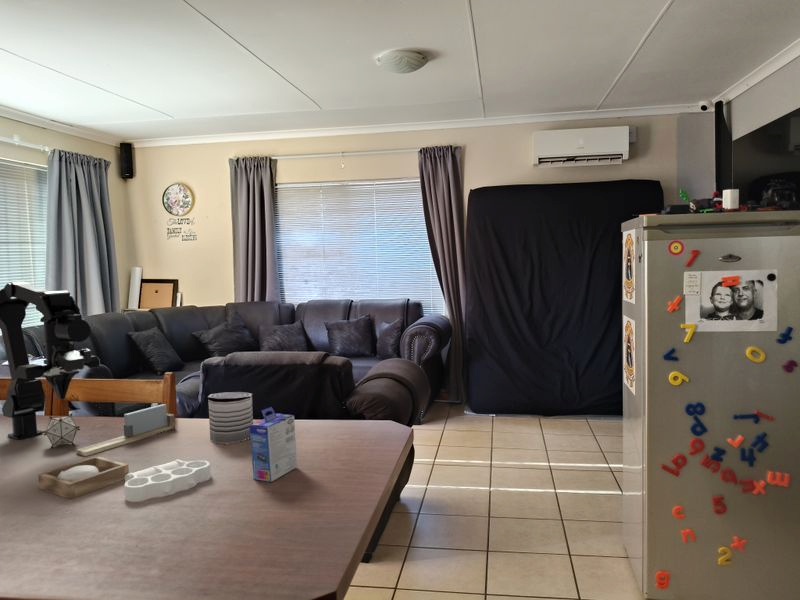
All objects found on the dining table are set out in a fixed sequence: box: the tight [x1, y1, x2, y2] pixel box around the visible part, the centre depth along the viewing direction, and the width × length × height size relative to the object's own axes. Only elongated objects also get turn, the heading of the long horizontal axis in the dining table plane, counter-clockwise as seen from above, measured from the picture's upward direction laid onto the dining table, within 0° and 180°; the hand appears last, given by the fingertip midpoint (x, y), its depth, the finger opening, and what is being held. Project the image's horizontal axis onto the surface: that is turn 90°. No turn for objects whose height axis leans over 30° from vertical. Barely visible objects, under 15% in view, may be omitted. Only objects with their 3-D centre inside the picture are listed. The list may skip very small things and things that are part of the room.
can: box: [207, 391, 254, 444], centre depth 157 cm, size 11×11×12 cm
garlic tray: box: [37, 455, 130, 500], centre depth 127 cm, size 12×13×3 cm
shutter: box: [123, 403, 168, 437], centre depth 161 cm, size 2×12×6 cm, turn 148°
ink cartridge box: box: [249, 406, 298, 483], centre depth 130 cm, size 10×6×14 cm, turn 155°
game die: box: [42, 412, 81, 449], centre depth 153 cm, size 9×8×10 cm
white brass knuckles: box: [123, 459, 212, 503], centre depth 125 cm, size 3×18×15 cm
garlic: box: [58, 465, 100, 482], centre depth 127 cm, size 8×7×4 cm
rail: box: [75, 412, 176, 457], centre depth 156 cm, size 4×26×4 cm, turn 148°
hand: (61, 399), depth 152 cm, fingers closed
